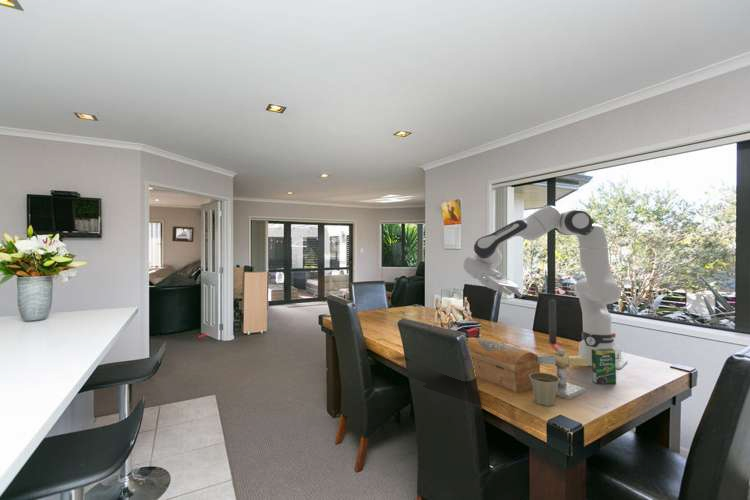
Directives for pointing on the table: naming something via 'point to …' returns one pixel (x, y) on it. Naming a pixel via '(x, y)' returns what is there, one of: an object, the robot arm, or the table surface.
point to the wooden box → (503, 364)
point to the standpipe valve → (564, 372)
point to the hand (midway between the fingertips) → (516, 294)
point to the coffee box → (603, 366)
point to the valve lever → (553, 328)
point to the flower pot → (544, 388)
